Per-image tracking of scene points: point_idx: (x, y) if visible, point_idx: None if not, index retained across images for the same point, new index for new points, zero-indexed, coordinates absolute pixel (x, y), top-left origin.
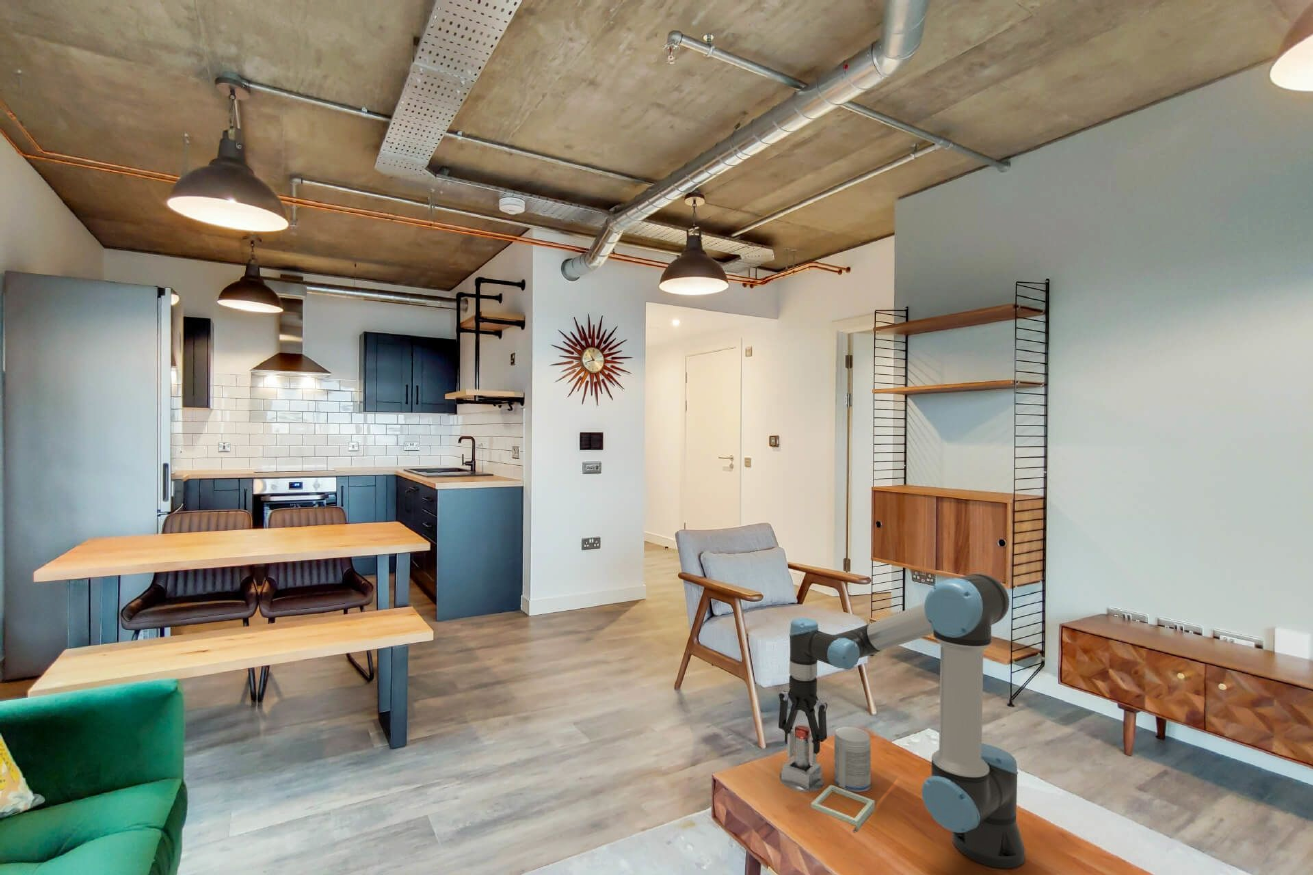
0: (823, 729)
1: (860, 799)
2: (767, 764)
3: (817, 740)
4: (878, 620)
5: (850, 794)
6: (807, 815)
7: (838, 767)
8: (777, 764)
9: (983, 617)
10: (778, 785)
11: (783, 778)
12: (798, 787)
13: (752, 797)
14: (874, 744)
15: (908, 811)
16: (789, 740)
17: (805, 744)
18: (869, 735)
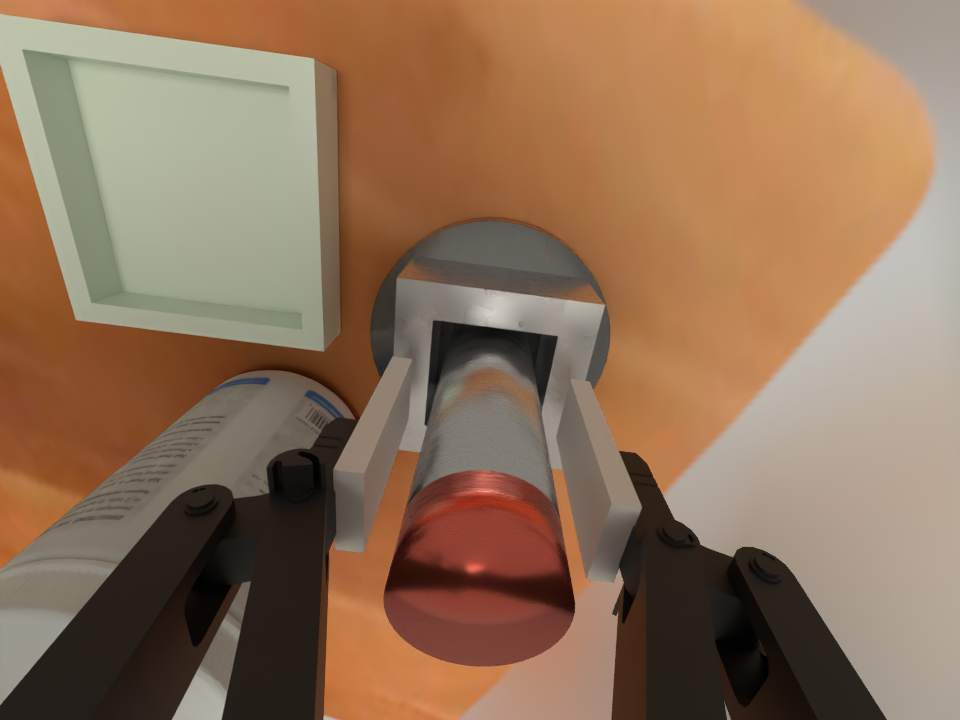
0: (71, 644)
1: (148, 305)
2: (697, 425)
3: (273, 497)
4: None
5: (200, 315)
6: (342, 30)
7: (272, 442)
8: (649, 447)
9: None
10: (595, 265)
11: (575, 280)
12: (475, 256)
13: (714, 26)
14: (361, 707)
15: (20, 374)
16: (602, 461)
17: (430, 450)
18: None
